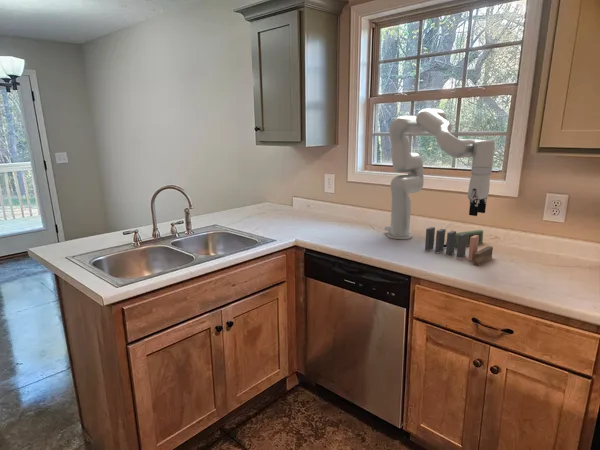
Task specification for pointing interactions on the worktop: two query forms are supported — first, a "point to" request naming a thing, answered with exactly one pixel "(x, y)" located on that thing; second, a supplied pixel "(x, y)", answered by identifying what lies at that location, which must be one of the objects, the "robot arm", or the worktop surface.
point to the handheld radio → (469, 234)
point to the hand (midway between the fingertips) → (477, 213)
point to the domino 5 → (473, 247)
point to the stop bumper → (482, 255)
